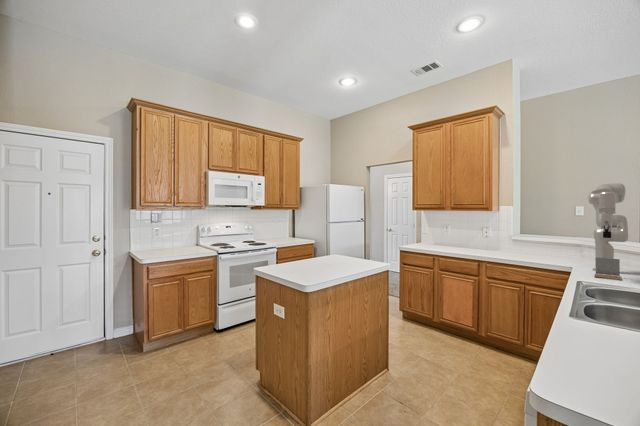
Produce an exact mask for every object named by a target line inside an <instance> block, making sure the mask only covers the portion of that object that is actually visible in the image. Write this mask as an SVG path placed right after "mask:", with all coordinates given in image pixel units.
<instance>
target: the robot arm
mask: <svg viewBox="0 0 640 426" xmlns="http://www.w3.org/2000/svg"><path fill="white" fill-rule="evenodd" d="M625 197H626V187H625V185H624V184H623V183H620V182H619V183H602V184H599V185H598V186H597V187H596V189H595V190H592V191H590V192H589V193H588V198H587V199H588V202H589V204H590V205H592V206H593V208H594V209H595V210H594V211H595V222H596V223H595V224H596V226H597V227H598V228H596V229H594V231H593V236H594V237H593V238H594V239H593V240H594V243H595V245H594V247H595V249H594V250H595V251H594V252H595V266H594V267H593V268H592V271H595V272H596V257H598V258H611V259H615V258H614V257H615V255H614V254H615V252H614V246H613V245H612V244H611V243H612V242H614V243H615V242H616V243H625V242H627V241H628V240H629V230H628V229H629V228H628V226H629V225H628V219H627V217H626V216H624V215H622V214H616V204H618V203H623V202H624V201H625Z"/></svg>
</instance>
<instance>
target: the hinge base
mask: <svg viewBox="0 0 640 426" xmlns="http://www.w3.org/2000/svg"><path fill="white" fill-rule="evenodd" d="M594 279H602V280H603V279H604V280H605V279H606V280H611V281H612V280H613V281H620V282H621V281H623V279H622V276H621V275H620V276H615V275H605V274H596V273H594Z"/></svg>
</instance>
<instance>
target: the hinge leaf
mask: <svg viewBox="0 0 640 426" xmlns="http://www.w3.org/2000/svg"><path fill="white" fill-rule="evenodd" d="M620 261H621V260H620V258H614V259H611V258H598V257H596V271H595V274H602V275H611V276H620V277H621V275H620V274H621V273H620V272H621V271H620Z"/></svg>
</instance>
